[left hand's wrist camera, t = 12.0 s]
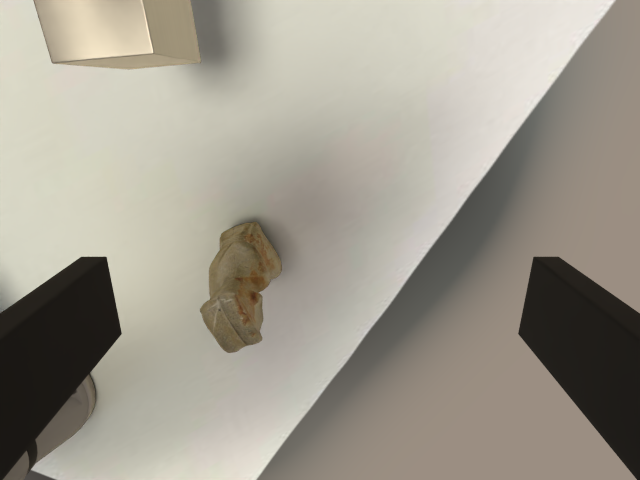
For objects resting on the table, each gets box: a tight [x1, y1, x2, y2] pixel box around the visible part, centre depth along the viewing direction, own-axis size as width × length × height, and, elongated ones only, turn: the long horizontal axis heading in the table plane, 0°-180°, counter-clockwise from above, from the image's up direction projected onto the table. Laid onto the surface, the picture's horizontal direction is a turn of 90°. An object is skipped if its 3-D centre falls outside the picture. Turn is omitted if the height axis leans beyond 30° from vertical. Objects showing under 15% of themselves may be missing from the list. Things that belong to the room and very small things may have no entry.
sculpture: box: [200, 222, 282, 353], centre depth 38 cm, size 6×7×15 cm
